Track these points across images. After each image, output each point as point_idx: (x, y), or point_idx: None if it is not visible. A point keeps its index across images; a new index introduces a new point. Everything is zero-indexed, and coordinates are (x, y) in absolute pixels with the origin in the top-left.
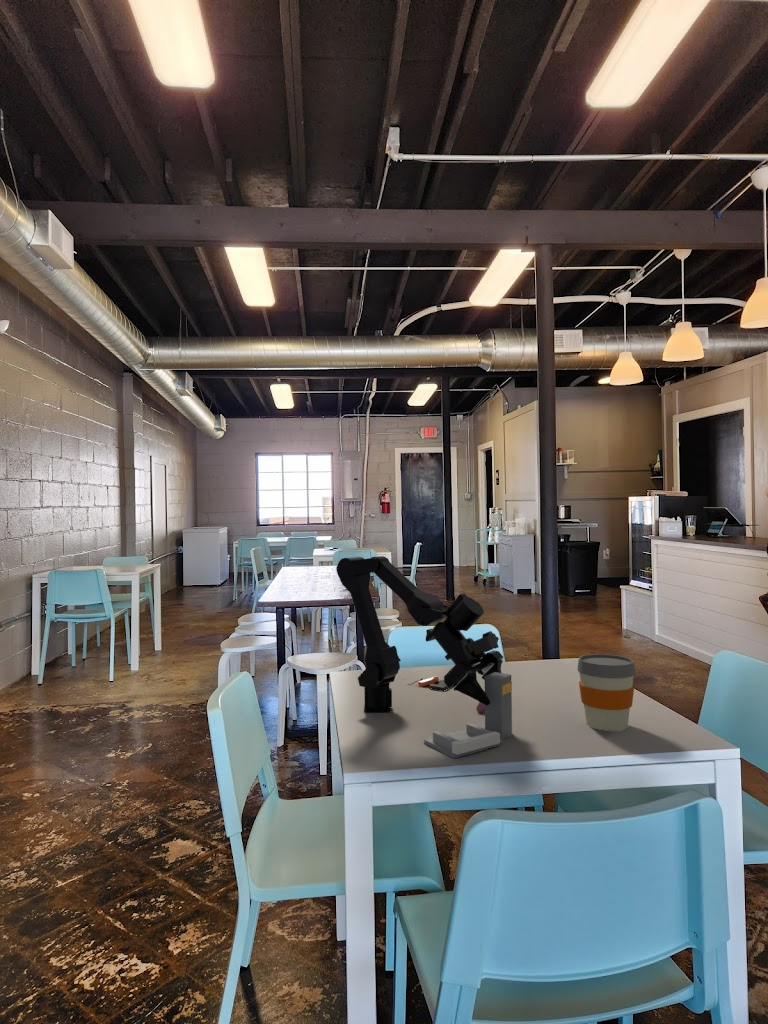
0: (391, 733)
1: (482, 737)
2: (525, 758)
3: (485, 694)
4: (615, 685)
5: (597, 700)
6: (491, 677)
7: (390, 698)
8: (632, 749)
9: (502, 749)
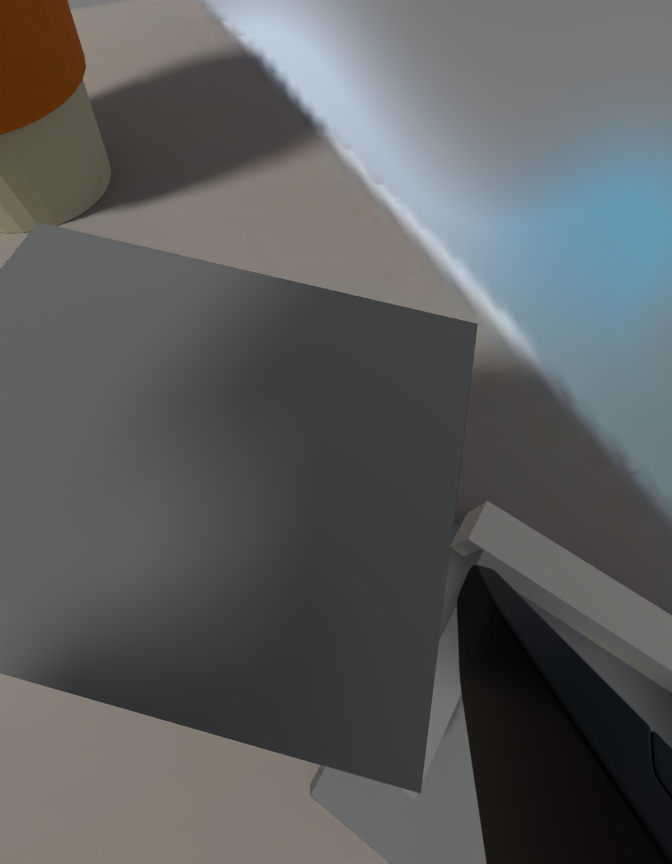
0: None
1: (611, 585)
2: (530, 394)
3: (525, 629)
4: None
5: (50, 47)
6: (434, 542)
7: None
8: (282, 133)
9: (483, 500)
